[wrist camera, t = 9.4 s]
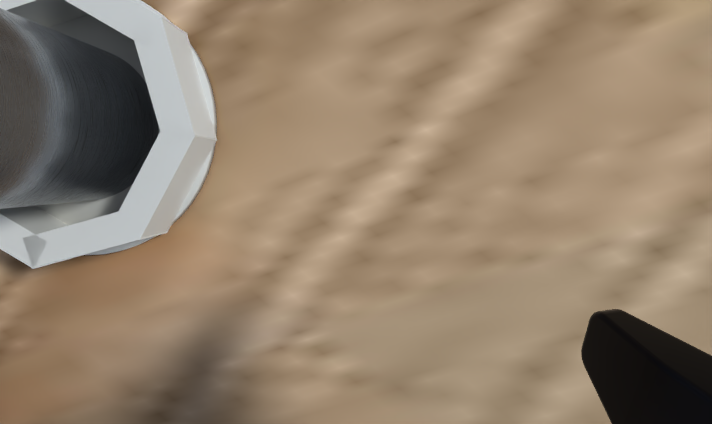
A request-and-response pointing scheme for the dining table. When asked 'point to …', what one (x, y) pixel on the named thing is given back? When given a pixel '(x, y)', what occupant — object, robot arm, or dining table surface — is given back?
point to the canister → (67, 118)
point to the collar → (167, 156)
